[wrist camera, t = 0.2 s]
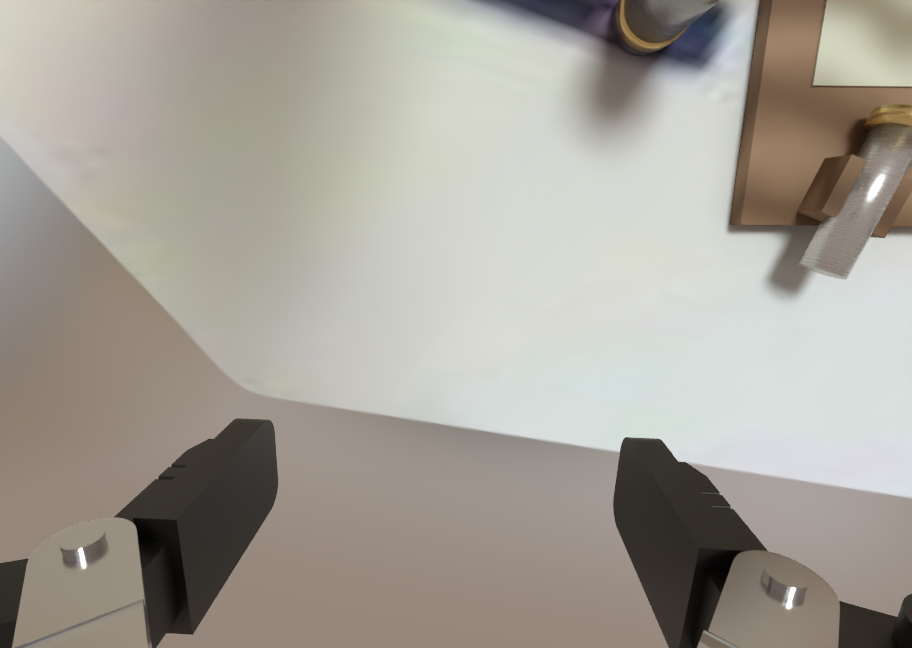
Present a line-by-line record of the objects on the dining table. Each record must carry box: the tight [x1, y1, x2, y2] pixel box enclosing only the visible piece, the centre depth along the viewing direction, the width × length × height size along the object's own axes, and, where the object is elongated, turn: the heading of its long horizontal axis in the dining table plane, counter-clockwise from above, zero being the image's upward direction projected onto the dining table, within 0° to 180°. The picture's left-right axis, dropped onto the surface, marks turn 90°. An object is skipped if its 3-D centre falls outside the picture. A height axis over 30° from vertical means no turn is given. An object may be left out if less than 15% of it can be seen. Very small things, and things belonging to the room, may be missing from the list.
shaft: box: [799, 104, 912, 279], centre depth 33 cm, size 11×4×4 cm, turn 159°
